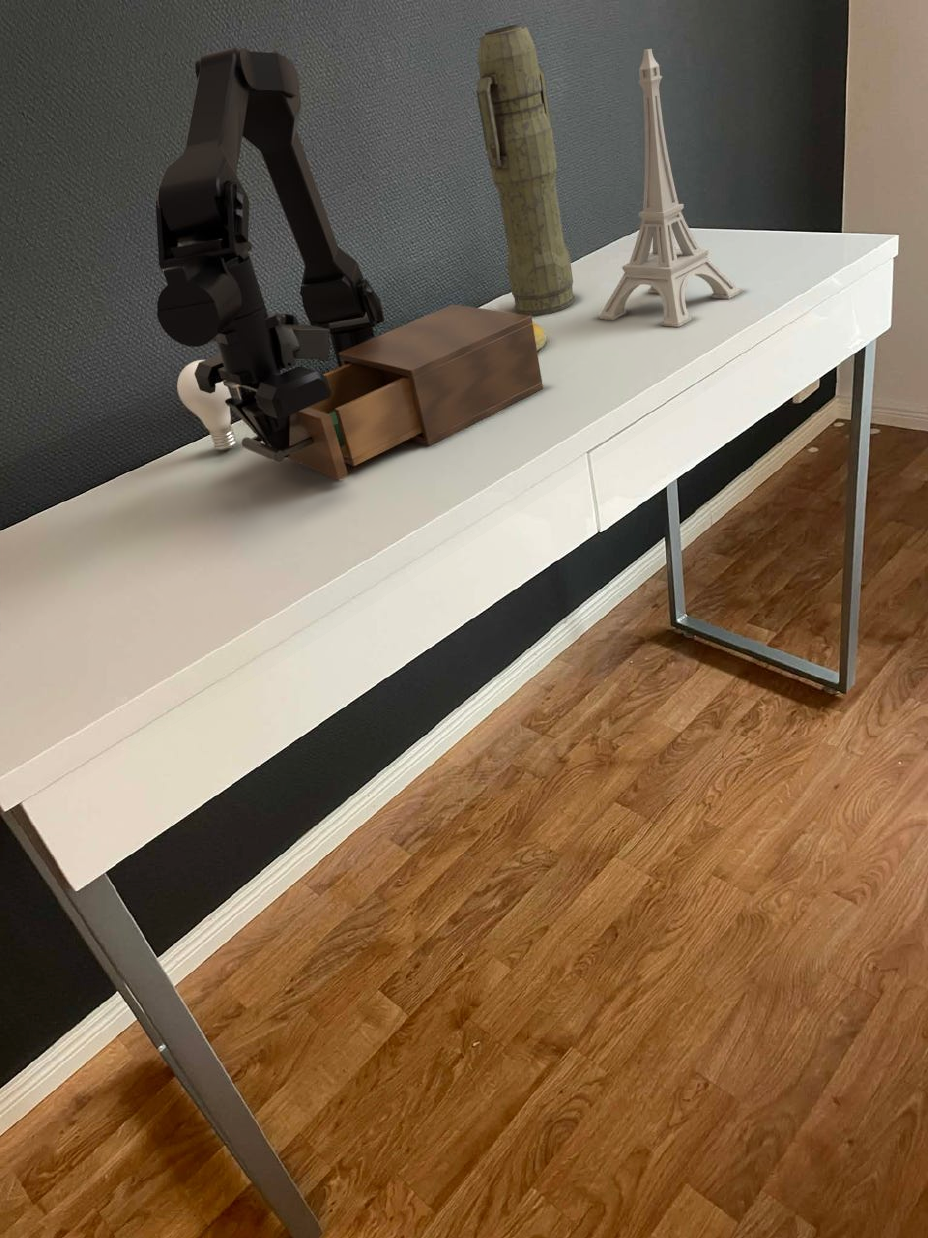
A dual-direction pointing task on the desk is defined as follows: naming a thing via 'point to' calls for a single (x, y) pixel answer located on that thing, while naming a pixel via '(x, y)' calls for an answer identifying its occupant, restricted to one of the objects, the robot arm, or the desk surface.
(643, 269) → the eiffel tower
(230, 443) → the lightbulb
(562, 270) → the thermos
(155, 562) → the desk surface
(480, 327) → the cabinet
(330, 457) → the drawer
